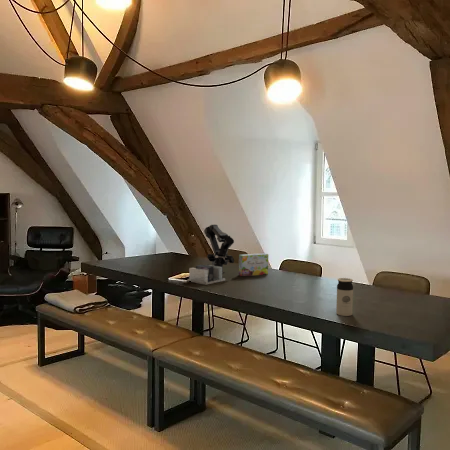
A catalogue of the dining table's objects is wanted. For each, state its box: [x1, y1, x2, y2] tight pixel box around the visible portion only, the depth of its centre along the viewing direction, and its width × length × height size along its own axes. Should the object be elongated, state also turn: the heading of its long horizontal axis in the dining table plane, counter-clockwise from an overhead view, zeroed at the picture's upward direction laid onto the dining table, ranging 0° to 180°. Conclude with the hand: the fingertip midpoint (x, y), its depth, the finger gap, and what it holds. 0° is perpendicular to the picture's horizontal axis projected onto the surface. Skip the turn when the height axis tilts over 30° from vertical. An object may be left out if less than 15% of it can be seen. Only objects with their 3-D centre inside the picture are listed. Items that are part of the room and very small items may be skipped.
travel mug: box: [336, 277, 354, 317], centre depth 253 cm, size 8×8×18 cm
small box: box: [195, 264, 214, 282], centre depth 334 cm, size 11×6×10 cm, turn 61°
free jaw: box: [207, 264, 223, 280], centre depth 340 cm, size 3×13×9 cm, turn 49°
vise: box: [187, 267, 226, 285], centre depth 335 cm, size 19×17×9 cm
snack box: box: [238, 252, 269, 277], centre depth 357 cm, size 21×6×15 cm, turn 114°
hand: (216, 268), depth 341 cm, fingers closed
